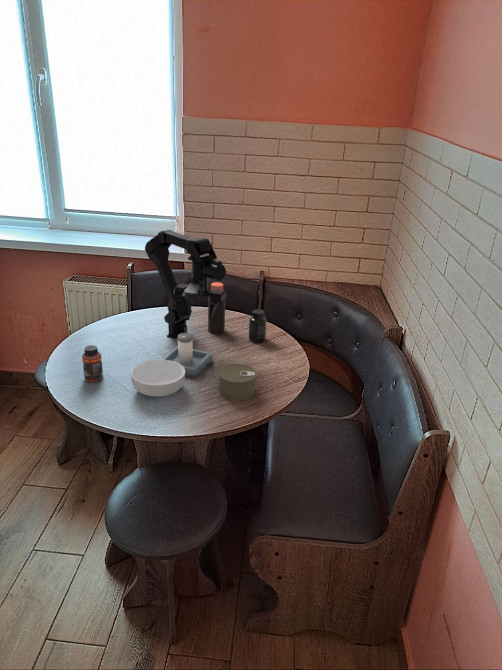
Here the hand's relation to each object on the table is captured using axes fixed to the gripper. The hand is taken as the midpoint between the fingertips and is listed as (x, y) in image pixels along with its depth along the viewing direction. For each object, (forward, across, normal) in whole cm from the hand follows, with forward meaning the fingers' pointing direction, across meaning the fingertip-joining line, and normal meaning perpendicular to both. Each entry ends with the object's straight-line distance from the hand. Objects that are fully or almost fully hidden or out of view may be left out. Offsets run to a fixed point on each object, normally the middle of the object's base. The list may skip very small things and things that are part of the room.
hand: (199, 314), depth 184 cm
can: (+13, +25, -25) cm, 38 cm away
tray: (+13, +2, -16) cm, 21 cm away
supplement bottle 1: (+13, -21, -37) cm, 45 cm away
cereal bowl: (+13, +2, -35) cm, 37 cm away
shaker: (+12, +2, -16) cm, 20 cm away
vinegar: (+13, 0, +16) cm, 21 cm away
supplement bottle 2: (+13, +18, +15) cm, 27 cm away
